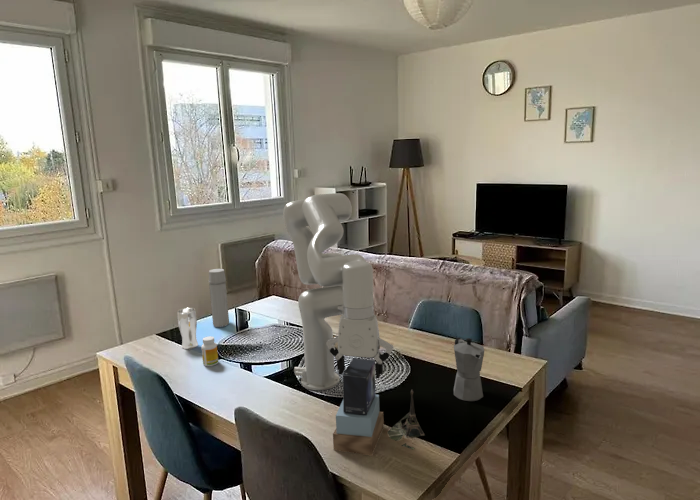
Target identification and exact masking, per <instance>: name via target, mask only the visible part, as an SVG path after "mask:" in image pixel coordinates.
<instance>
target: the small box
mask: <svg viewBox="0 0 700 500" xmlns="http://www.w3.org/2000/svg"><path fill="white" fill-rule="evenodd" d="M342 393H343V395H342V397H343V399H342V401H343V413H350V414H358V415H367V413H368V411H369V409H370V407H371V404H372V402H373V400H374V398H375V394H376V360H375V359H374V360H373V359H366V358H365V359H364V358H363V359H362V358H358V357H354V358H352V359H351V361H350V363H349V365H348V366H347V367H346V369H345V370H344V372H343V373H342Z"/></svg>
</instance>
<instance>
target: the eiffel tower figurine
mask: <svg viewBox="0 0 700 500" xmlns="http://www.w3.org/2000/svg"><path fill="white" fill-rule="evenodd" d="M416 414H417V413H415V403H414V390H410V408H409V412H408V413H406V414H405V415H404V416H403V417H402V418H401V419H400V420H399V421H398V422H396V423H395V424H394V425H393V426H392V427H391V428H389V430H387V432H386V434H387V435H388V438H389V439H390V440H392V441H396V442H400V441H401V439H403V436H404V438H405V439H408V438H417V437H423V436H426V434H425V433H424V431H423V429H422V427H421V426H420V423H419V421H418V419H417V417H416ZM403 420H405V422H403V423H402V421H403ZM401 447H404V448H406V449H407V448H408V449H410V450H415V449H416V448H415V447H413V446H410V445H409V444H408V445H407V443H403V444H401Z"/></svg>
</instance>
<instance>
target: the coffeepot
mask: <svg viewBox="0 0 700 500" xmlns="http://www.w3.org/2000/svg"><path fill="white" fill-rule="evenodd" d="M472 339H473V338H466V342H465V340H463V339H462V338H461V337H456V339H455V340H454V344H453V350H454V351H453V352H454V358H455V365H456V370H457V372H456V375H455V380H454V384H453V385H454V386H453V396H454V397H456V398H457V399H459V400H461V401H464V402H475V401H476V402H477V401H479V400H481V399H482V398H484V393H483V386H482V379H481V373H480V372H481V371H482V366H483V361H484V357H485V356H484V355H485V348H484V345H481V344H478V343H477V342H472V341H473V340H472Z"/></svg>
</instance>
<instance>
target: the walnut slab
mask: <svg viewBox="0 0 700 500" xmlns="http://www.w3.org/2000/svg"><path fill="white" fill-rule="evenodd" d="M384 419H385V418H384V411H379V415H378V418H377V421H376V425H375V428H374V431H373V434H372V437H367V436H357V435H346V434H337V433H336V428H335V430H334V431H333V433H332V441H333V445H332V446H333V450H334V451H339V452H344V453H350V454H356V455H363V456H364V455H365V456H371V457H372V456H373V455H374V454H373V453H374V451H375V450H376V448H377V445H378V442H379V440H380V437H381V436H382V433H383V430H384V429H385V426H384V425H385V421H384Z"/></svg>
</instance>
